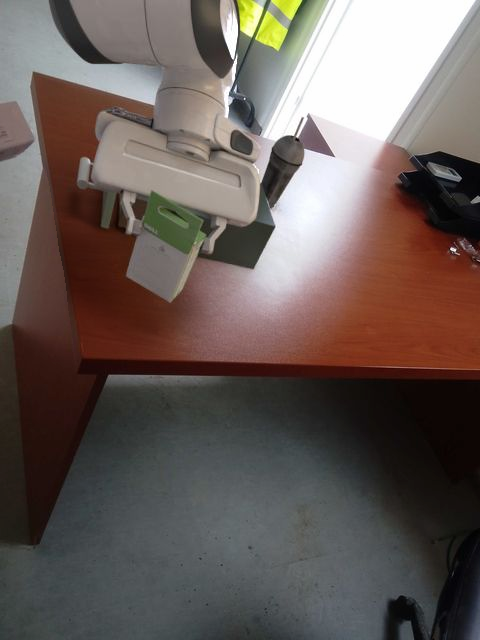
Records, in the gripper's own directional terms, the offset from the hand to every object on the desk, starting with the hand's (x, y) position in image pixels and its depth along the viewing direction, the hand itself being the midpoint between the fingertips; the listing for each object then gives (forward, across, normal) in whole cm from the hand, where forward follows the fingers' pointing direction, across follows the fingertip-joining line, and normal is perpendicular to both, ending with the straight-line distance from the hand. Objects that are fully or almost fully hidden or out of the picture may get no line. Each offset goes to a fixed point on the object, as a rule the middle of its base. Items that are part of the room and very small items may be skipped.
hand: (170, 244), depth 56 cm
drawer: (-8, -1, +27) cm, 28 cm away
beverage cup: (-21, +28, +41) cm, 54 cm away
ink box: (+5, 0, +6) cm, 8 cm away
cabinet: (-8, +12, +27) cm, 31 cm away
